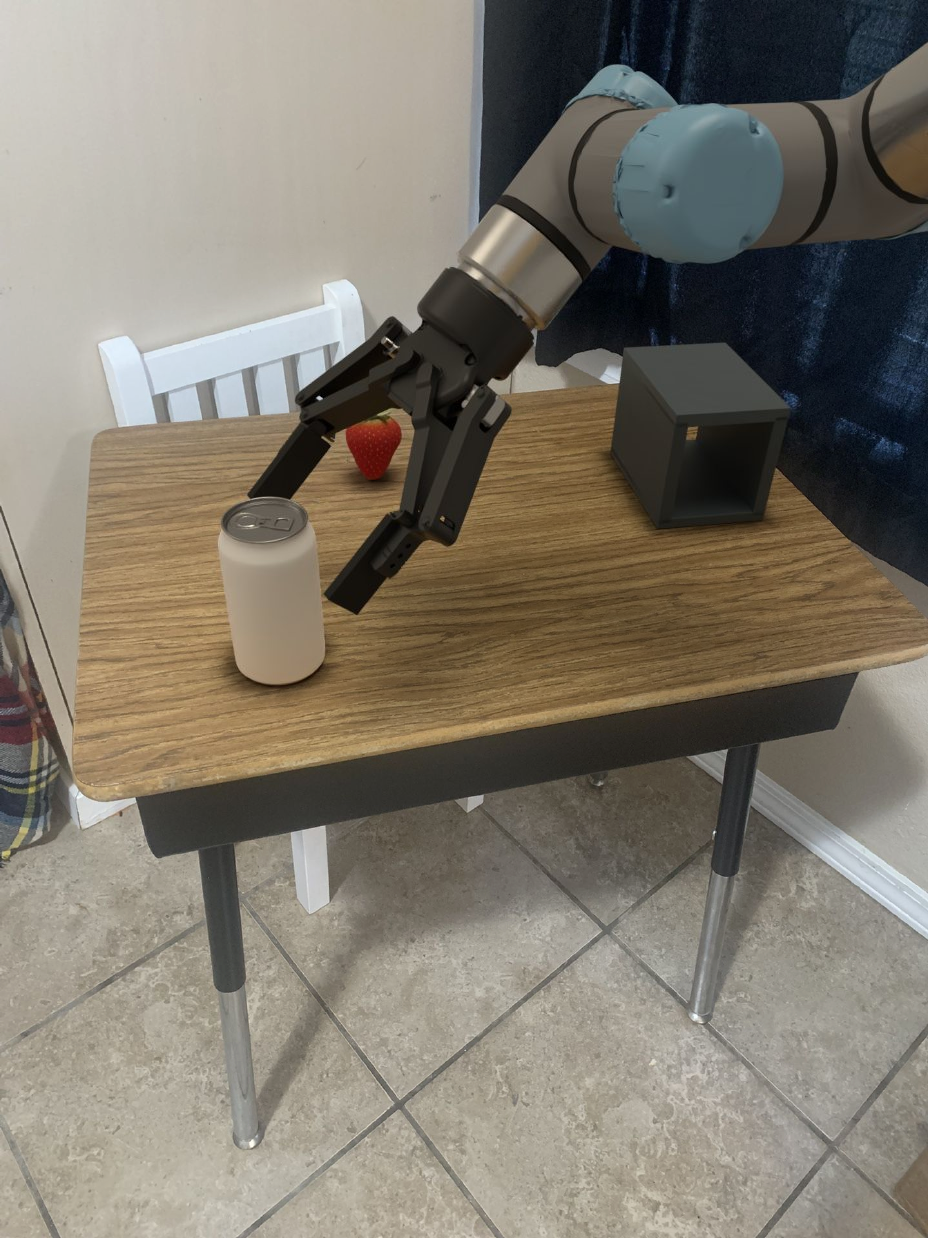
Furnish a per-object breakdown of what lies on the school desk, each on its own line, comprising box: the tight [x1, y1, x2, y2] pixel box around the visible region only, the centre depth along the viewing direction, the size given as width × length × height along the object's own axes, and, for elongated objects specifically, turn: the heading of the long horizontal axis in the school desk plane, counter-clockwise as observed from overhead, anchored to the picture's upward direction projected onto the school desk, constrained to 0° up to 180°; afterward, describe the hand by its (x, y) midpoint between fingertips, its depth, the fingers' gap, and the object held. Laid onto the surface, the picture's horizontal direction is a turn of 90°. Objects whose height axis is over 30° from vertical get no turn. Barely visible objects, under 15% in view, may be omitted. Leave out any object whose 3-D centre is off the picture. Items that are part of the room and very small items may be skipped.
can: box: [217, 497, 326, 687], centre depth 67 cm, size 6×6×12 cm
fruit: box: [345, 408, 403, 481], centre depth 90 cm, size 5×5×8 cm
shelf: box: [610, 342, 792, 530], centre depth 89 cm, size 14×10×11 cm
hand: (298, 552), depth 67 cm, fingers open, 13 cm apart
